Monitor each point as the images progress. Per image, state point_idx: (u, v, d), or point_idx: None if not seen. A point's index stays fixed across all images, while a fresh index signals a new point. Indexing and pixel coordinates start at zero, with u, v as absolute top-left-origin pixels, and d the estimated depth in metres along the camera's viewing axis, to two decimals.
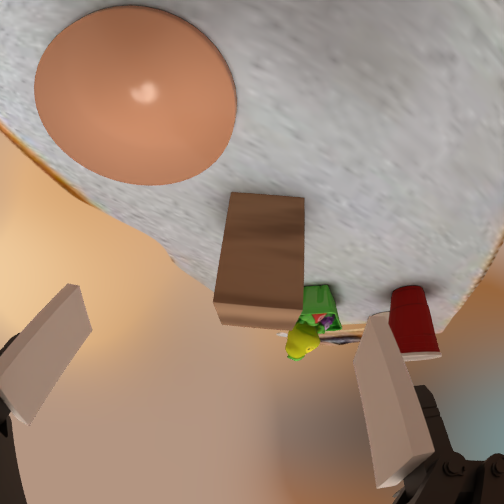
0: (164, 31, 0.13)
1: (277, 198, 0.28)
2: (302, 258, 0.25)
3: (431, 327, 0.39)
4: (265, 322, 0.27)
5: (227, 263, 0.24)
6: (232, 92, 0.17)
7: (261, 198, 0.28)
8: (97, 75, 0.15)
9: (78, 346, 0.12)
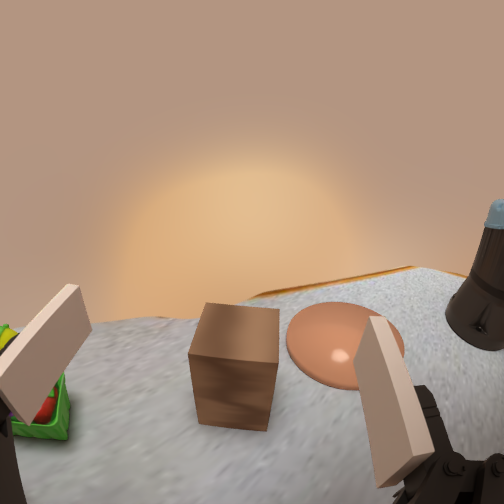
0: None
1: None
2: None
3: None
4: (223, 334, 0.24)
5: None
6: None
7: None
8: None
9: (78, 346, 0.12)
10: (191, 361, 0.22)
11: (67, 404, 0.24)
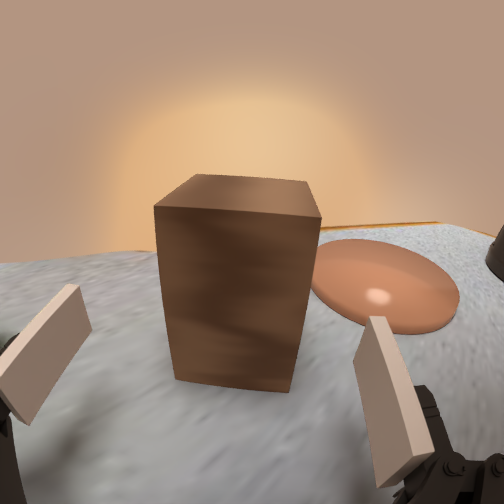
0: (452, 298, 0.24)
1: None
2: (306, 307, 0.14)
3: None
4: (220, 192, 0.14)
5: None
6: (427, 323, 0.21)
7: None
8: (414, 270, 0.29)
9: (78, 346, 0.12)
10: (159, 225, 0.12)
11: None
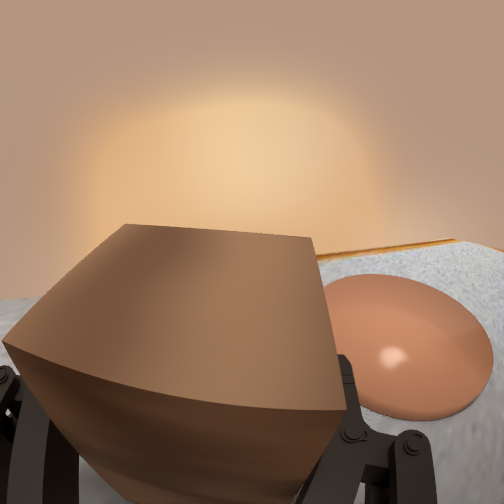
0: (486, 359, 0.16)
1: None
2: None
3: None
4: (133, 291, 0.07)
5: None
6: (458, 406, 0.13)
7: None
8: (439, 319, 0.21)
9: None
10: (22, 370, 0.05)
11: None
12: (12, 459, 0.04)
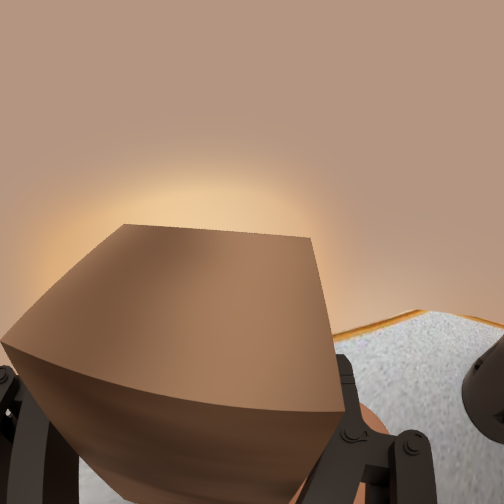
0: None
1: None
2: None
3: None
4: (132, 291, 0.07)
5: None
6: None
7: None
8: None
9: None
10: (20, 371, 0.05)
11: None
12: (12, 459, 0.04)
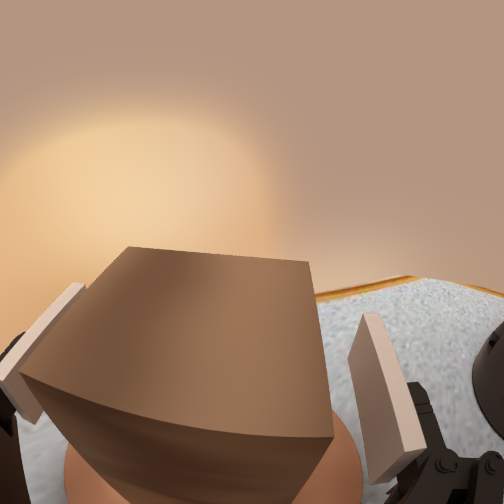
0: None
1: None
2: None
3: None
4: (140, 322, 0.07)
5: None
6: None
7: None
8: None
9: None
10: (38, 396, 0.05)
11: None
12: None
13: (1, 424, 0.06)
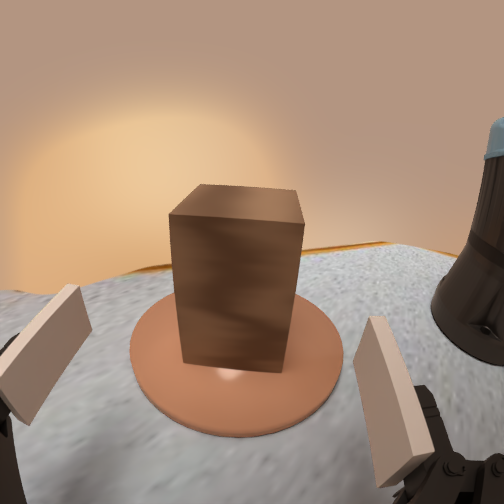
0: (319, 386, 0.18)
1: None
2: (294, 296, 0.17)
3: None
4: (222, 201, 0.17)
5: None
6: (242, 429, 0.15)
7: None
8: None
9: (78, 346, 0.12)
10: (173, 230, 0.15)
11: None
12: None
13: None
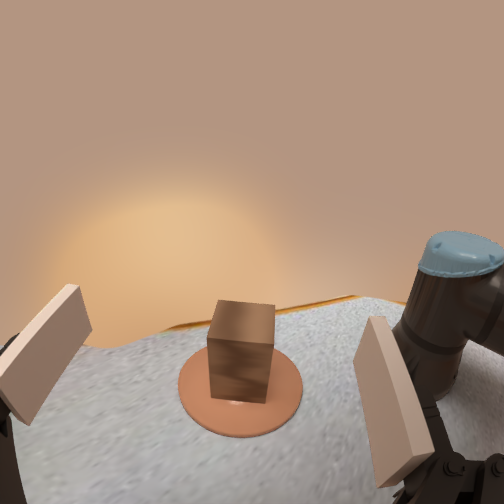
0: (285, 411, 0.33)
1: None
2: None
3: None
4: (232, 323, 0.32)
5: None
6: (243, 433, 0.30)
7: None
8: None
9: (78, 346, 0.12)
10: (209, 343, 0.30)
11: None
12: None
13: None
